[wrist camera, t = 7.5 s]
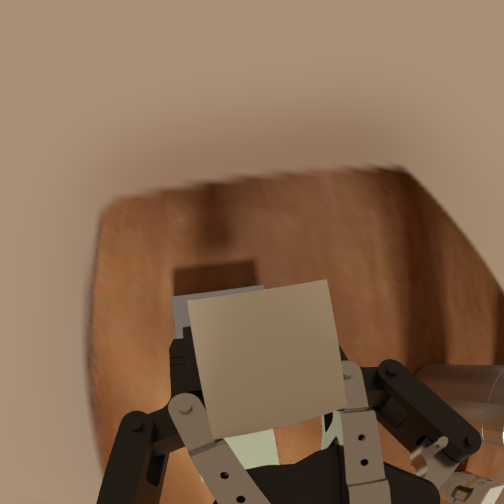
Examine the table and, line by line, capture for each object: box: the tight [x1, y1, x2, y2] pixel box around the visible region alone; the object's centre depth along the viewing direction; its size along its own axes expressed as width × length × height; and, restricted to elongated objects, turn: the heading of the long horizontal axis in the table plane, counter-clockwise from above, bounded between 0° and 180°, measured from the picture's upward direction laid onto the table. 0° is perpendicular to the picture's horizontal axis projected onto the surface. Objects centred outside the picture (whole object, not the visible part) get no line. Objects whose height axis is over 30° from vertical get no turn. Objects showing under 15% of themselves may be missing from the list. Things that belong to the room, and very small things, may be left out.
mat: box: [200, 429, 279, 482], centre depth 25 cm, size 9×10×1 cm
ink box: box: [438, 471, 504, 504], centre depth 20 cm, size 9×5×12 cm, turn 64°
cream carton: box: [187, 279, 347, 440], centre depth 13 cm, size 4×4×11 cm
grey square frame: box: [171, 285, 265, 339], centre depth 27 cm, size 9×9×3 cm
